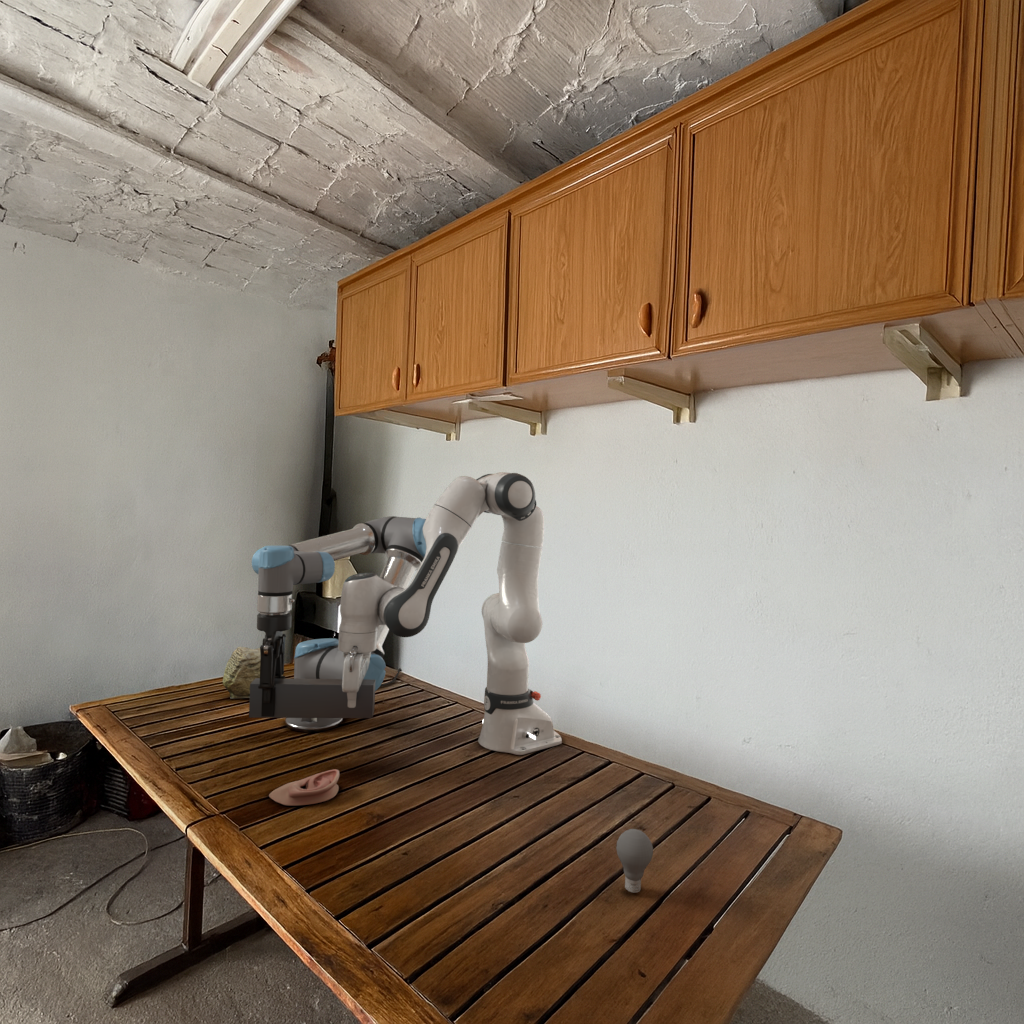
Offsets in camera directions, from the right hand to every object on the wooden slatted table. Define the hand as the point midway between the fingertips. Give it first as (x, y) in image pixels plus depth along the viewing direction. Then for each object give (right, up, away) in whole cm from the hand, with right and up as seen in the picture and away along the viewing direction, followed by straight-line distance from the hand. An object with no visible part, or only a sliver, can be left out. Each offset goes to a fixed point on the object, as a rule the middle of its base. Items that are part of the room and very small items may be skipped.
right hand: (354, 700), depth 149 cm
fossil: (-43, -13, +49) cm, 66 cm away
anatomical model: (-7, -16, -15) cm, 23 cm away
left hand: (-19, -2, -2) cm, 19 cm away
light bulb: (+57, -19, -44) cm, 75 cm away
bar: (-10, -3, -1) cm, 10 cm away
